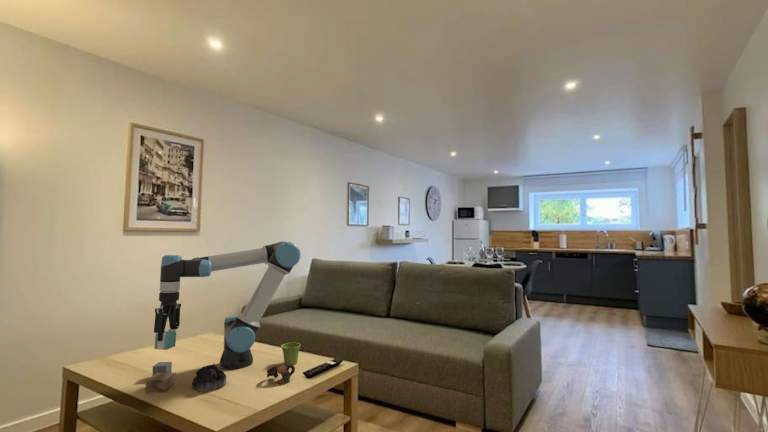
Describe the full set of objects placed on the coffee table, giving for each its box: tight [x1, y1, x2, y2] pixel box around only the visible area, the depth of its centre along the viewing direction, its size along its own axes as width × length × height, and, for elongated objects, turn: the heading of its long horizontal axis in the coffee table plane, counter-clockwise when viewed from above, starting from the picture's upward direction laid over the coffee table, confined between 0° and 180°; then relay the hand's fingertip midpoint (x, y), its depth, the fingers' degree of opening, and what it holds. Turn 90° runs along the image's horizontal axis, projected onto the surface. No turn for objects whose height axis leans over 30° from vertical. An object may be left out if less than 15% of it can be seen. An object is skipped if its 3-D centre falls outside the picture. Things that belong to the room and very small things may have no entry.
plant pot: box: [280, 342, 302, 366], centre depth 187 cm, size 9×9×9 cm
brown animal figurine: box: [266, 363, 296, 386], centre depth 165 cm, size 12×10×8 cm
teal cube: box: [153, 330, 177, 351], centre depth 161 cm, size 6×6×6 cm
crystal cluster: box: [191, 363, 227, 392], centre depth 159 cm, size 14×14×10 cm
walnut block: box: [145, 372, 177, 393], centre depth 156 cm, size 8×8×5 cm
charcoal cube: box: [151, 361, 173, 377], centre depth 168 cm, size 6×6×6 cm
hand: (165, 346), depth 161 cm, fingers closed on teal cube, 5 cm apart
